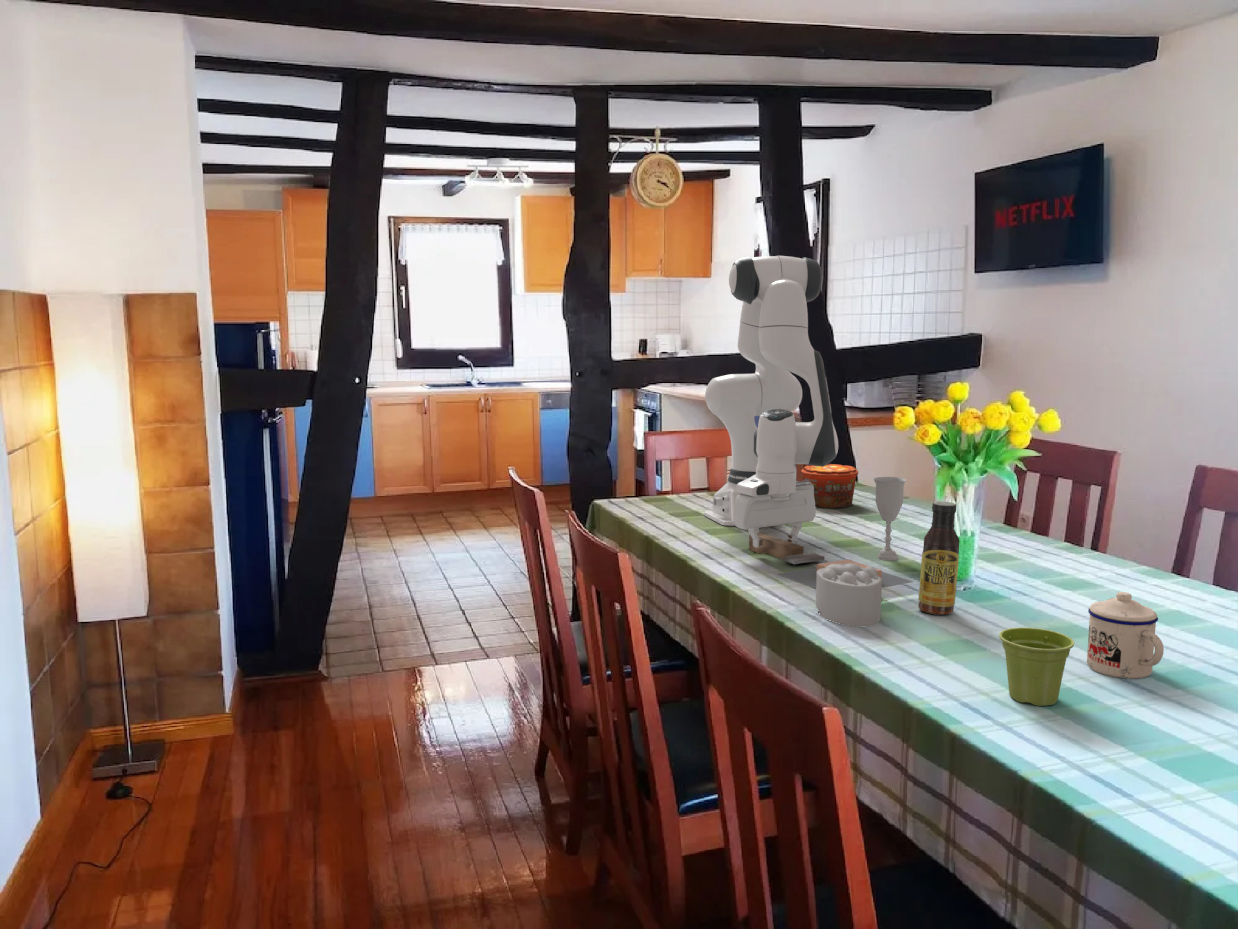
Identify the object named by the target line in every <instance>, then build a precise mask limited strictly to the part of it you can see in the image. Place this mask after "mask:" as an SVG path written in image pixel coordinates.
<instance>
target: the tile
mask: <svg viewBox="0 0 1238 929" xmlns="http://www.w3.org/2000/svg"><path fill="white" fill-rule="evenodd" d="M847 563H854V564H857V565H858V566H859V567H861V568H866V567H871V566H869V565H867V564H864V563H860V562H857V561H854V560H851V559H843V560H842V559H841V560H835V561H828V562H822V563H817V564H816V568H817V571H818V570H819V569H821V568H826V567H827V566H828V565H831V564H847ZM874 568H875V569H876V571H877V573H878V576H879V577H880V578H881V572H883V571H882V569H880V568H879V569H878V568H876V567H874Z"/></svg>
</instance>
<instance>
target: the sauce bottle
mask: <svg viewBox="0 0 1238 929" xmlns="http://www.w3.org/2000/svg"><path fill="white" fill-rule="evenodd" d="M931 511H932V521H931V526H930V528H929V530H928V531H927V533H925V535H924V537H923V549H922V553H921V561H920V562H921V563H920V575H919V576H920V577H919V578H920V579H919V588H918V589H919V590H918V601H919V602H918V609H919V611H922V612H924V613H927V614H930V615H935V616H937V615H938V616H939V615H941V616H944V615H945V616H947V614H948V615H951V614H952V613H953V612H954V609H955V604H956V593H957V584H958V582H957V581H958V572H959V562H960V561H959V558H960V554H959V553H960V537H959V536H958V534H957V533H956V531H955V519H956V518H955V517H956V516H955V515H956V513H957V504H956V503H954V502H949V501H933V502H932V507H931Z"/></svg>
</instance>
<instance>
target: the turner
mask: <svg viewBox="0 0 1238 929" xmlns="http://www.w3.org/2000/svg"><path fill="white" fill-rule="evenodd" d="M757 534H758V537H759V538H760V539H763V543H762V544H763V546H762V547H757V548H756V547H754V546H753V539H752V537H751V535H750V533H748V535H749V538H748V541H749V542H748V550H749V551H752V552H754V553H757V554H759V553H760V554H767V555H770V556H773V557H775V558H778V559H782V561H784V562H787V563H788V564H792V565H798V564H803V563H805V564H806V563H813V562H819V561H824V560H825V555H822V554H818V553H815V552H805V553H804V546H803V545H800V544H797V543H796V542H792V543H791V542H788V541H787V540H786V539H782V538H779V537H776V536H773V535H769V534H767V533H763V532H760V531H759V532H758V533H757ZM760 554H759V555H760Z"/></svg>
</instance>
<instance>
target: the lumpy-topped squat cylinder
mask: <svg viewBox="0 0 1238 929" xmlns="http://www.w3.org/2000/svg"><path fill="white" fill-rule="evenodd" d="M875 568H876V567H872V566H870V567H866V568H861V567H859V566H858V565H857V564H854V563H847V564H831V565H828V566H827V567H826V568H821V569H819V570H818V571H817V578H816V589H815V592H816V593H815V608H816V609H817V613H818V614H819V613H820V615H819V616H821V617H822V618H823V617H824V618H825V619H824V618H823V619H824V620H826V619H828V620H831V621H834V622H837V623H836V624H838V623H840V624H839V625H842V624H843V626H847V625H848V626H847V627H855V626H866V627H871V626H874V625H876V624H878V623H879V622H880V621H881V617H882V593H883V592H882V588H883V587H882V579H881V578H880V577H879V576H878V573H877V571H876V569H877V568H876V569H875ZM828 620H827V621H828ZM879 620H880V621H879ZM831 621H830V622H831ZM834 622H833V623H834Z"/></svg>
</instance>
